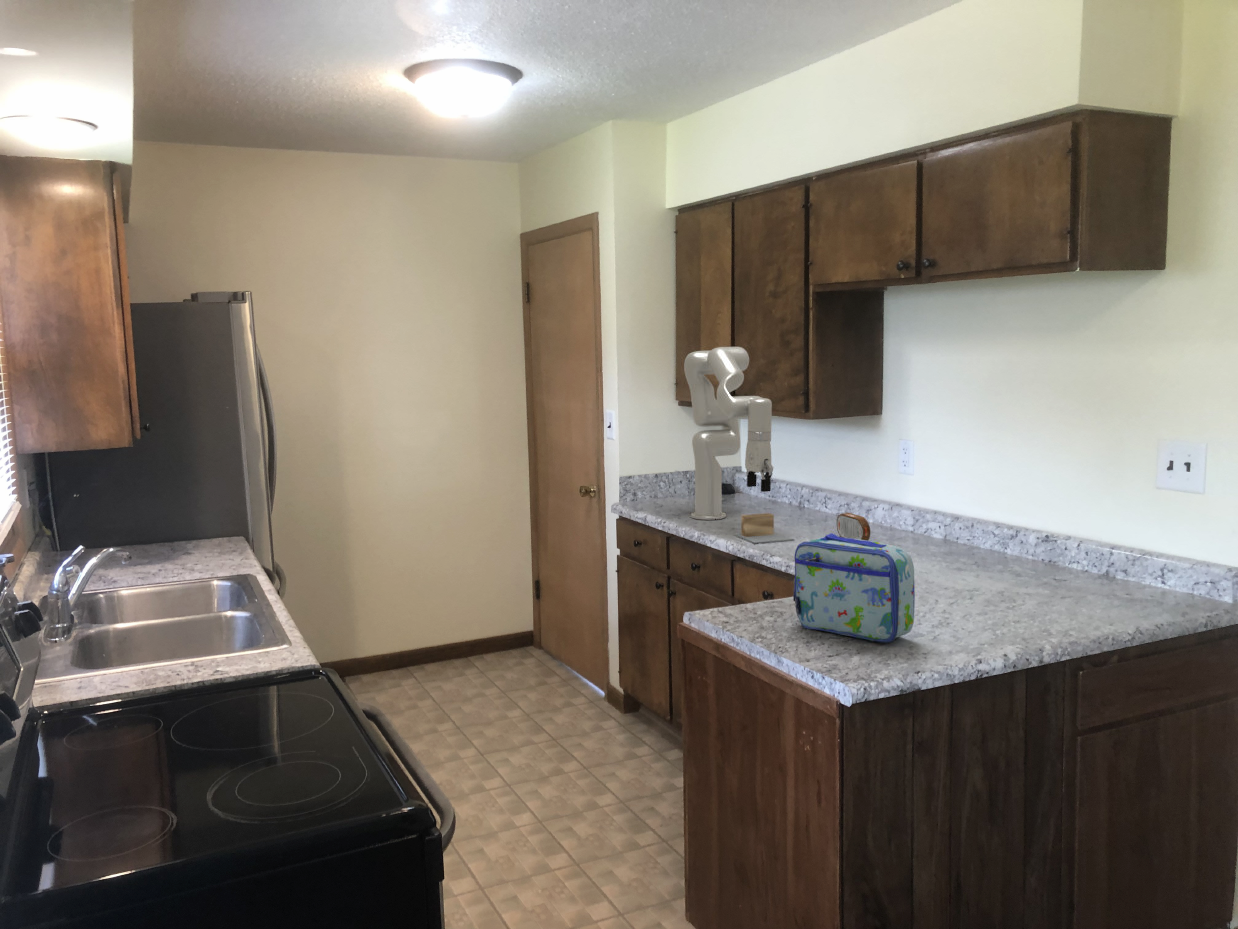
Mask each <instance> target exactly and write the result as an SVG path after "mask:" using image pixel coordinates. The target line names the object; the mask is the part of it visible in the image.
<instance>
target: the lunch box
mask: <svg viewBox="0 0 1238 929" xmlns="http://www.w3.org/2000/svg"><path fill="white" fill-rule="evenodd" d="M793 584H794V585H793V598H792V599H793V602H794V605H795V614H796V615H797V618H798V620H799V622H800V624H801V625H802V627H803V628H805V629H807V630H816V631H817V630H818V631H823V632H828V633H834V634H837V635H841V636H846V637H847V636H848V637H851V638H856V639H861V640H868V641H871V642H878V643H886V644H888V643H891V642H893V641H894V640H895V639H896V638H899V637H903V636H905V635H907V634H909V633H910V632H911V631H912V629H913V627H914V621H915V593H916V592H915V566H914V562H913V560H912V557H911V555H910V554H909V552H907V551H906V550H905V549H903V548H901V547H898V546H897V545H896V546H895V545H891V544H888V543H883V542H879V541H872V540H868V541H866V540H859V539H851V538H842V537H841V536H839V535H836V534H834V533H833V532H832V533H828V534H826V535H825V536H822V537H818V538H816V539H811V540H808V541H803V542H800V543H799V544H798V545H797V546H796V549H795V551H794V578H793Z"/></svg>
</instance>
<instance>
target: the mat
mask: <svg viewBox="0 0 1238 929" xmlns="http://www.w3.org/2000/svg"><path fill="white" fill-rule="evenodd" d="M734 535H735V536H734ZM733 536H734V537H736V538H739V537H740V538H739V539H741V538H743V539H742V540H744V539H745V540H744V541H746V540H747V541H746V542H748V541H749V542H748V543H751V542H752V543H751V544H753V543H754V545H758V544H757V543H761V544H768V543H767V542H772V543H780V542H781V543H782V542H793V541H795V539H794V538H793V537H790V536H788V535H784V534H782V533H780V532H776V531H774V535H762V536H751V537H745V536H743V535H741V532H740V533H739V532H737V533H733Z"/></svg>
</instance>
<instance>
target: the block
mask: <svg viewBox="0 0 1238 929" xmlns="http://www.w3.org/2000/svg"><path fill="white" fill-rule="evenodd" d="M774 516H775V515H774V514H772V513H769V512H767V513H755V514H752V513H751V514H741V515H740V517H741V518H740V519H741V520H740V527H741V528H740V530H741V531H740V533H741V535H743V536H745V537H751V536H762V535H774V532H775V527H774V526H775V525H774V524H775V521H774V520H775V519H774V518H775V517H774Z"/></svg>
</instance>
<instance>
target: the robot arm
mask: <svg viewBox="0 0 1238 929" xmlns="http://www.w3.org/2000/svg"><path fill="white" fill-rule="evenodd" d="M749 363H750V357H749V353H748V352H747V350H746V349H745V348H743V347H741V346H718V347H715V348H712V349H711V350H698V351H697V350H696V351H693V352H690V353H688V354H687V355H686V357H685V359H684V363H683V364H684V365H683V368H684V374H685V375H684V376H685V378H686V382H687V384H688V387H689V392H690V397H691V398H690V400H691V408H692V417H693V420H694V423H695V425H696V426H698V427H702V428H703V427H704V428H707V427H708V428H709V427H710V428H711V427H721V429H706V430H700V431H697V432H696V433H695V434H694V435H693V436H692V441H691V446H692V450H693V457H694V458H693V459H694V487H695V488H694V490H695V491H694V492H695V493H694V499H695V502H694V504H695V505H694V510H695V511H694V512H691V514H690V517H691V518H692V519H696V520H703V521H704V520H706V521H708V520H709V521H712V520H713V521H714V520H715V519H716V520H721V519H725V518H726V517H727V514H726V513H725V512H723V511H722V510H723V508H722V501H723V500H722V498H723V496H722V493H723V492H722V491H723V490H722V477H723V476H722V474H723V472H722V466H721V465H720V463H719V461H718V460H717V459H716V457H726V456H727V457H728V456H734V455H736V454H737V453H739V451H740V448H741V436H740V426H739V420H747V443H746V448H745V449H746V450H745V459H744V461H745V462H744V463H745V464H744V465H745V466H744V467H745V469H746V487H747V488H752V487H757V475H758V473H760V475H761V479H760V492H762V493H765V492H771V485H772V484H771V480H772V476H773V471H774V466H773V464H772V447H771V442H772V416H773V415H772V414H773V413H772V410H773V409H772V408H773V404H772V400H771V399H769V398H766V397H761V396H758V395H738V396H737V395H736V396H732V395H731V392H733V391H735V390H737V389H738V388H739V387H740V386H742V384H743V382H744V380H745V375H744V373H743V372H745V370H747V368H748V366H749ZM706 375H714V376H715V378H716V380H717V381H718V387H717V390H716V394H715V388H714V385H713V384H712V382H711V380H709V378H707V376H706ZM715 395H716V396H715ZM756 473H757V474H756Z"/></svg>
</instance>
